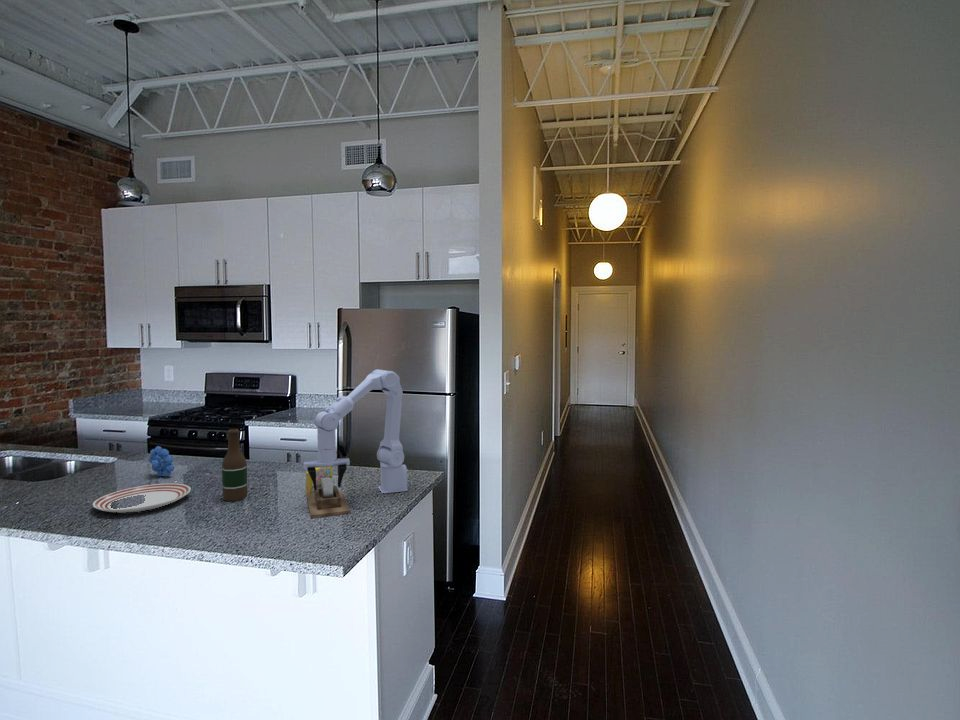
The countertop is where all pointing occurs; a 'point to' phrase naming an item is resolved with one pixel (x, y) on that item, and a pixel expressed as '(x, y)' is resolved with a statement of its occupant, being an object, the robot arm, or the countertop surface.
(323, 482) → the grey rectangular block
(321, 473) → the candy box
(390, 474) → the robot arm
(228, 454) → the beer bottle
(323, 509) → the walnut well stand
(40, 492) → the countertop surface
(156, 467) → the grapes
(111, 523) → the countertop surface
